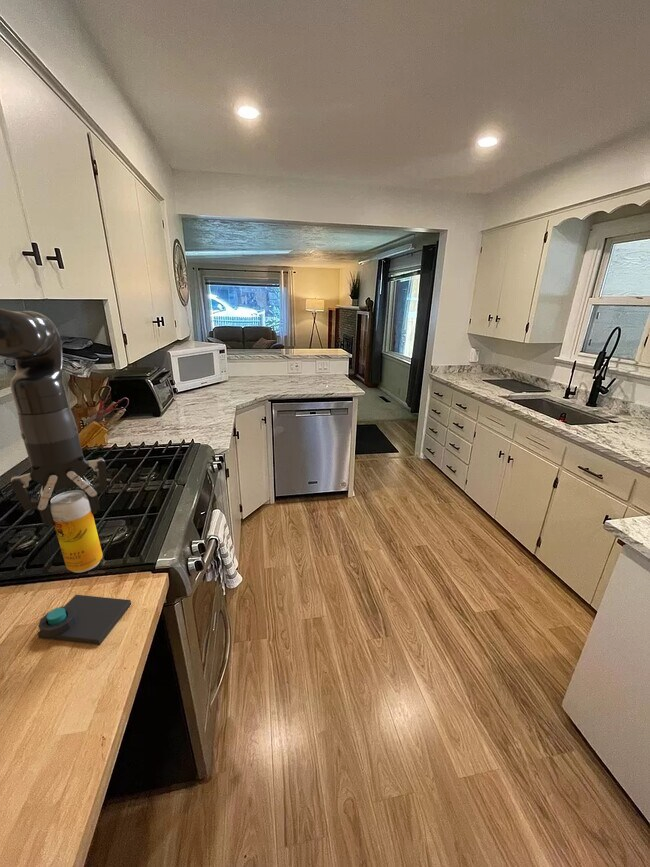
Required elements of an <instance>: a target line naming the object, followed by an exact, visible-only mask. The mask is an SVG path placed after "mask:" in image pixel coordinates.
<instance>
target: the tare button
mask: <svg viewBox="0 0 650 867" xmlns="http://www.w3.org/2000/svg"><path fill="white" fill-rule="evenodd" d="M59 607H60V608H59ZM59 607H56V608H53V609H52V610H50V611H48V612H47V613H48V615H47V620H48V623H49V625H56V624H59V623H60V622H62V621H64V620H65V619H66V617H67V615H66V612H65V609H64V608H61V607H62V606H59Z"/></svg>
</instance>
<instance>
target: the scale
mask: <svg viewBox="0 0 650 867" xmlns="http://www.w3.org/2000/svg"><path fill="white" fill-rule="evenodd" d="M131 600H132V599H125V598H124V599H123V598H113V597H104V596H103V597H102V596H95V595H94V596H93V595H85V594H84V595H83V594H75V595H74V596H73V597H71V599H70V600H69V601H68V602H67V603H66V604H65V605H63V606H59V607H58V608H60V607H61V608H64V609H65V612H66V615H67V617H66V619H65V620H64V621H62V622H60V623H59V624H56V625H49V623H48V620H47V615H48V613H49V612H47V613H46V614H45V615H44V616H43V617H42V618H41V619H40V620H39V623H38V630H39V631H38V632H37V637H38V639H43V640H51V641H60V642H70V643H78V644H87V645H88V644H89V645H96V646H101V645H102V644H103V642H104V641H105V639H106V638H107V637H108V636H109V635H110V633H111V632H112V631H113V629H114V628H115V627H116V625H117V624H118V623H119V621H120V620H121V619H122V618H123V617H124V615H125V614H126V612H127V611H128V610H129V609H130V608H131V606H132V605H131V604H132V601H131ZM130 605H131V606H130ZM128 608H129V609H128Z"/></svg>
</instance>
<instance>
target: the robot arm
mask: <svg viewBox="0 0 650 867" xmlns="http://www.w3.org/2000/svg"><path fill="white" fill-rule="evenodd" d="M0 358H4V359H7V360H14V361H15V368H16V371H15V374H14V376H13V377H12V378H11V379H10V382H9V383H10V385H9V386H10V392H11V395H12V400H13V402H14V406H15V410H16V412H17V419H18V424H19V430H20V436H21V439H22V440H23V443H24V447H25V450H26V454H27V457H28V460H29V463H30V464H29V465H30V471H29V472H28V473H25V474H22V475H19V474H14V475H13V476H11V478H10V486H11V488H12V489H13V491H14V493H15V495H16V497H17V499H18V501H19V503H20V505H21V506H22V508H23V510H24V511H31V510H38V512H39V515H40V518H41V521H42V524H43V525H44V526H47V525H48V527H49V528H50V527H54V523H53V520H52V516H51V513H50V509H49V506H50V503H49V501H50V500H51V497H52V494H53V492H57V491H61V490H63V489H66V488H74V487H76V486H78V487H79V488H80V490H81V491H84V492H85V494H86V495H87V496H88V497H89V501H90V505H91V509H92V513H93V515H95V514H98V511H99V510H100V509H101V505H100V500H99V496H98V495H99V493H101V492H105V491H106V490H107V489H108V478H107V464H106V463H107V462H106V460H105V459H104V457H102V456H99V457H97V458H96V459H90V460H88V459H87V458H86V457H85V456H84V453H83V452H84V451H83V448H82V444H81V440H80V435H79V432H78V425H77V423H76V419H75V415H74V413H73V411H72V409H71V406H70V401H69V396H68V393H67V389H66V385H65V382H64V354H63V343H62V338H61V335H60V333H59V331H58V328H57V327H56V325H55V323H54V322H53V321H52V320H51V319H50V318H49V317H47V316H46V315H44V314H42V313H40V312H37V311H33V310H17V311H16V310H15V311H13V310H7V309H4V308H0ZM89 468H92V470H93V472H96V476H97V477H96V478H97V483H95V484H92V483H91V482H90V481H89V479H87V477H86V476H85V474H86V472H88V470H89ZM31 480H32V481H34V482H35V483H37V484H39V485H41V487H40V488H41V489H40V492H39V495H38V498H34V499H33V498H32V496H31V495H30V493H29V491H28V489H27V488H29V486H30V481H31Z"/></svg>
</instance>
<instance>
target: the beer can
mask: <svg viewBox="0 0 650 867" xmlns="http://www.w3.org/2000/svg"><path fill="white" fill-rule="evenodd" d="M49 501H50V502H49V509H50V513H51V516H52V520H53V523H54V526H53V527H54V530H55V534H56V537H57V540H58V543H59V547H60V551H61V555H62V557H63V558H62V559H63V561H64V565H65V568H66V569H67V570H68V571H71V572H72V573H77V574H79V573H85V572H88V571H90V570H92V569H94V568H96V567H98V565H99V564H100V562H101V561H102V559H103V556H104V554H103V550H102V546H101V541H100V538H99V534H98V529H97V526H96V522H95V517H94V514H93V513H92V509H91V505H90V501H89V497H88V494H87V493H86V492H85V491H84V490H82V489H73V490H67V491H63V492H60V493H58V494H56V495H55V496H53V497H52V498H50V500H49Z"/></svg>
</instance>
